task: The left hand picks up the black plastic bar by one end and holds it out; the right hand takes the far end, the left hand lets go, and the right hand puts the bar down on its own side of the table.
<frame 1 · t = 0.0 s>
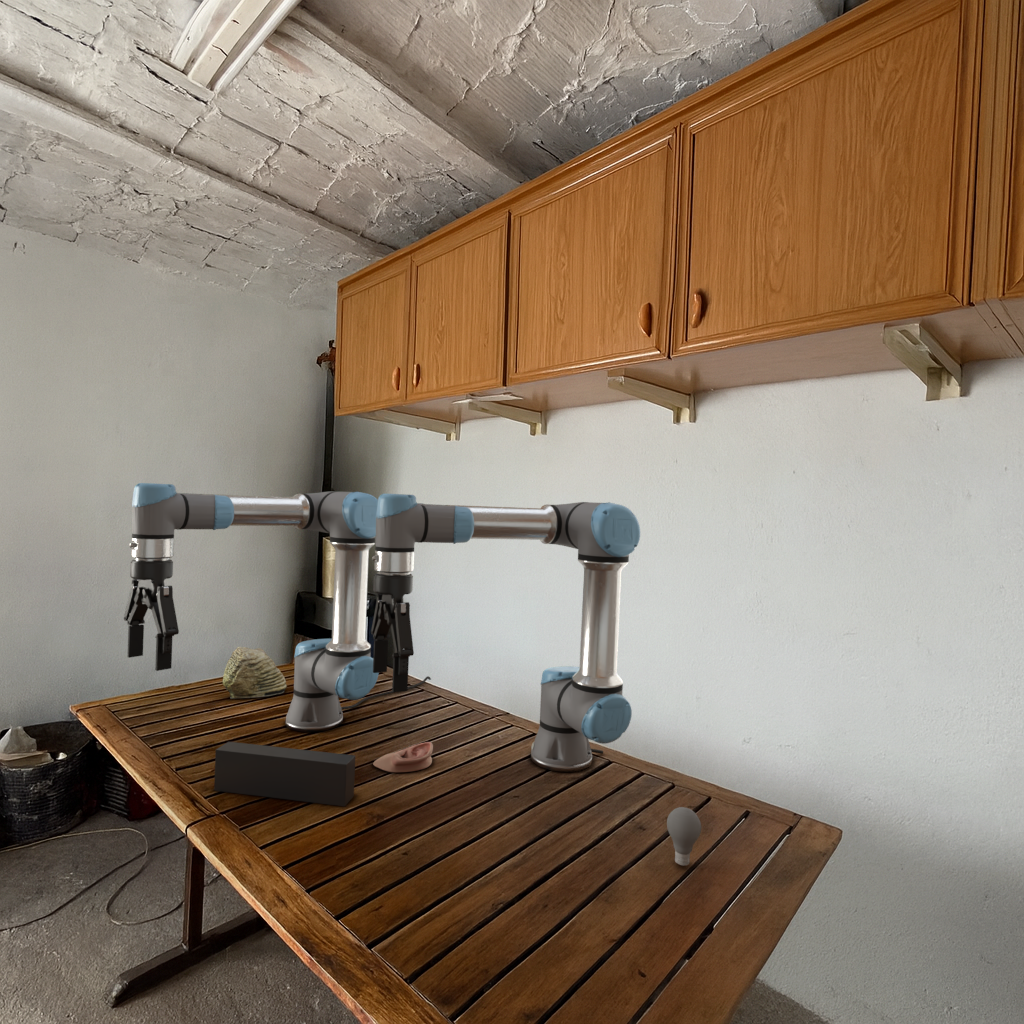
left hand: (148, 662, 129), 28 cm above the table, tool pointing down, fingers open, 13 cm apart
right hand: (389, 681, 124), 28 cm above the table, tool pointing down, fingers open, 13 cm apart
fossil: (254, 694, 198), on the table
bar: (284, 793, 135), on the table
anatomical model: (403, 763, 152), on the table
light bulb: (681, 864, 114), on the table
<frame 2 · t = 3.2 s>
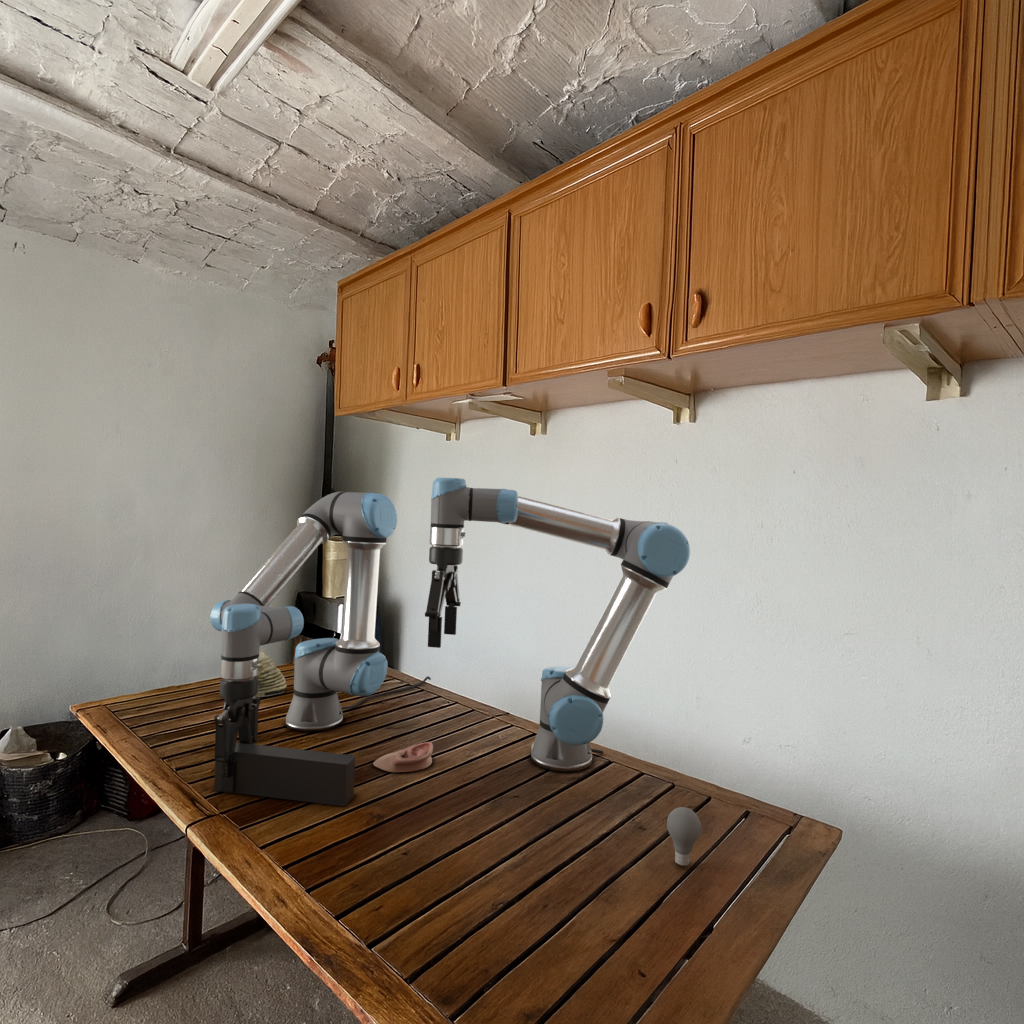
left hand: (235, 784, 136), 1 cm above the table, tool pointing down, fingers closed on bar, 5 cm apart
right hand: (442, 640, 143), 32 cm above the table, tool pointing down, fingers open, 13 cm apart
bar: (284, 793, 135), on the table, touching left hand
everything else where it was.
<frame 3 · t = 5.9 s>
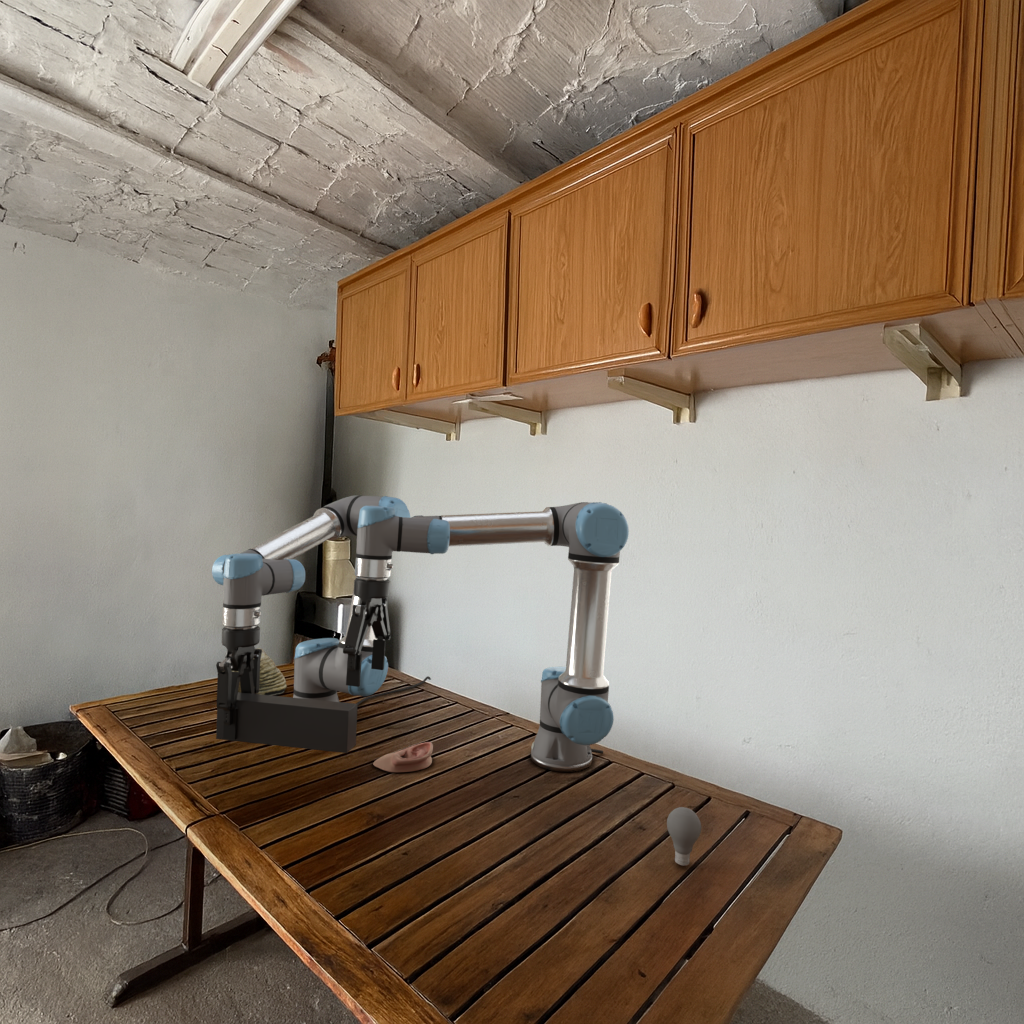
left hand: (237, 733, 136), 12 cm above the table, tool pointing down, fingers closed on bar, 5 cm apart
right hand: (365, 677, 135), 25 cm above the table, tool pointing down, fingers open, 13 cm apart
bar: (286, 741, 134), point 11 cm above the table, touching left hand
everything else where it was.
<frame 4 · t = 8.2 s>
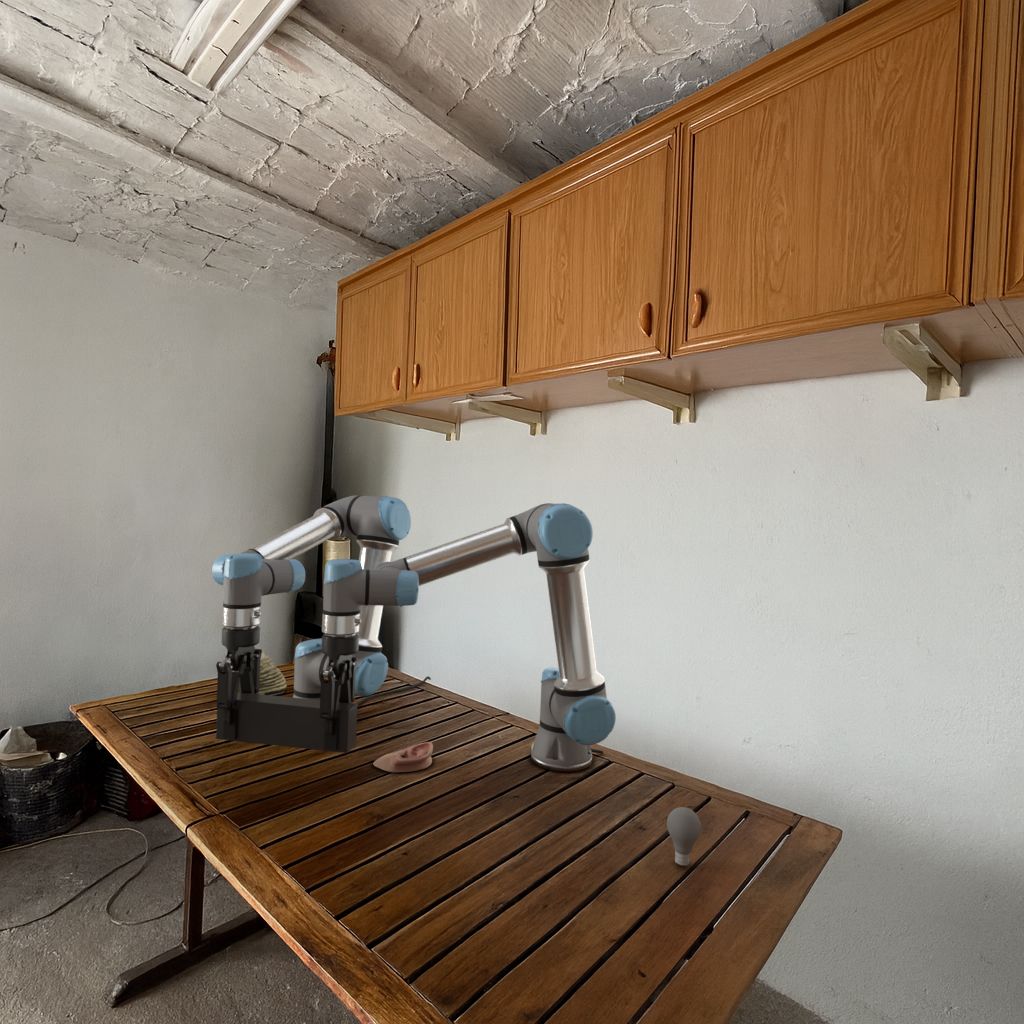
left hand: (237, 733, 136), 12 cm above the table, tool pointing down, fingers closed on bar, 5 cm apart
right hand: (336, 743, 133), 12 cm above the table, tool pointing down, fingers closed on bar, 5 cm apart
bar: (286, 741, 134), point 11 cm above the table, touching left hand, right hand
everything else where it was.
when the left hand's fingers open (12 cm above the table, at t = 8.9 s): bar stays where it is, held by the right hand.
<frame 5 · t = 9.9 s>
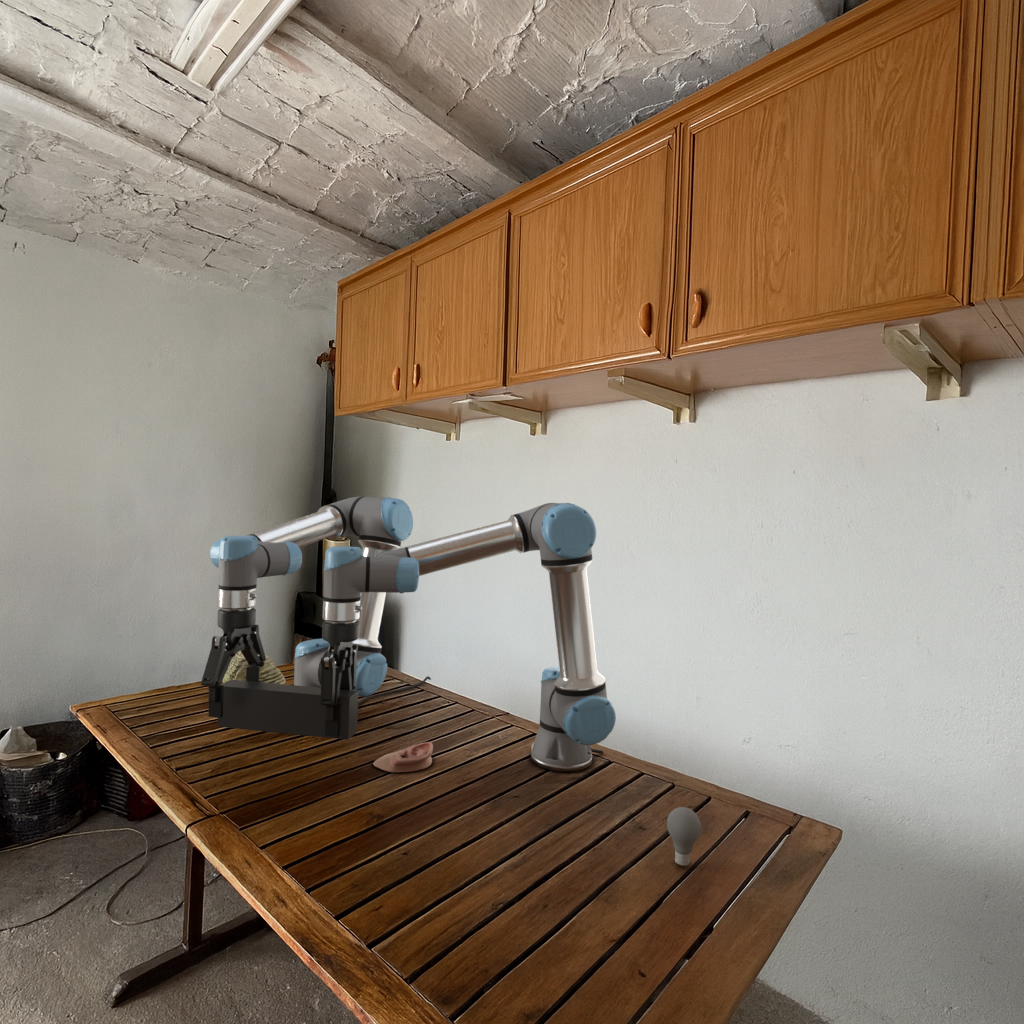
left hand: (234, 706, 136), 17 cm above the table, tool pointing down, fingers open, 13 cm apart
right hand: (337, 730, 133), 14 cm above the table, tool pointing down, fingers closed on bar, 5 cm apart
bar: (287, 729, 134), point 14 cm above the table, touching right hand
everything else where it was.
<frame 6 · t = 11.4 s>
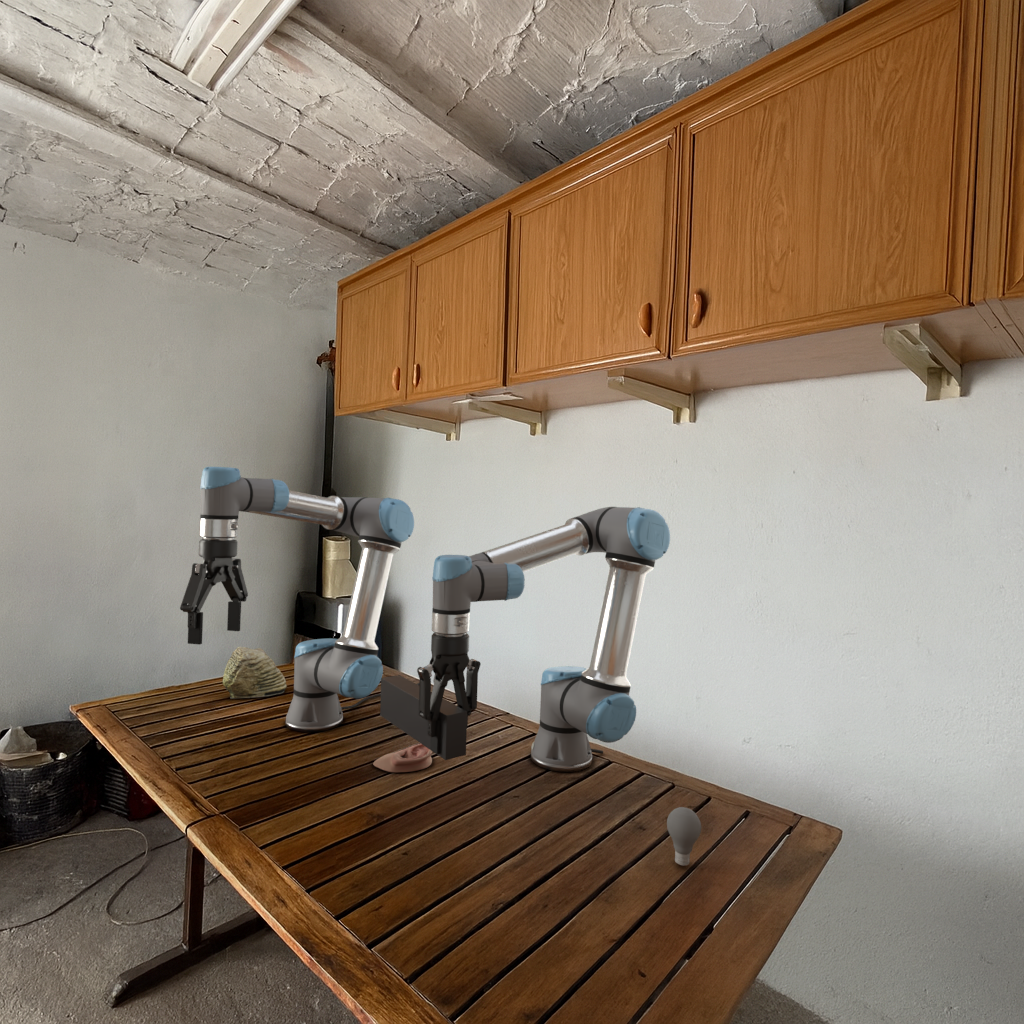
left hand: (215, 637, 137), 32 cm above the table, tool pointing down, fingers open, 13 cm apart
right hand: (447, 748, 127), 14 cm above the table, tool pointing down, fingers closed on bar, 5 cm apart
bar: (419, 733, 136), point 14 cm above the table, touching right hand
everything else where it was.
when the right hand's fingers open (2 cm above the table, at t = 14.4 s): bar drops 2 cm, on the table.
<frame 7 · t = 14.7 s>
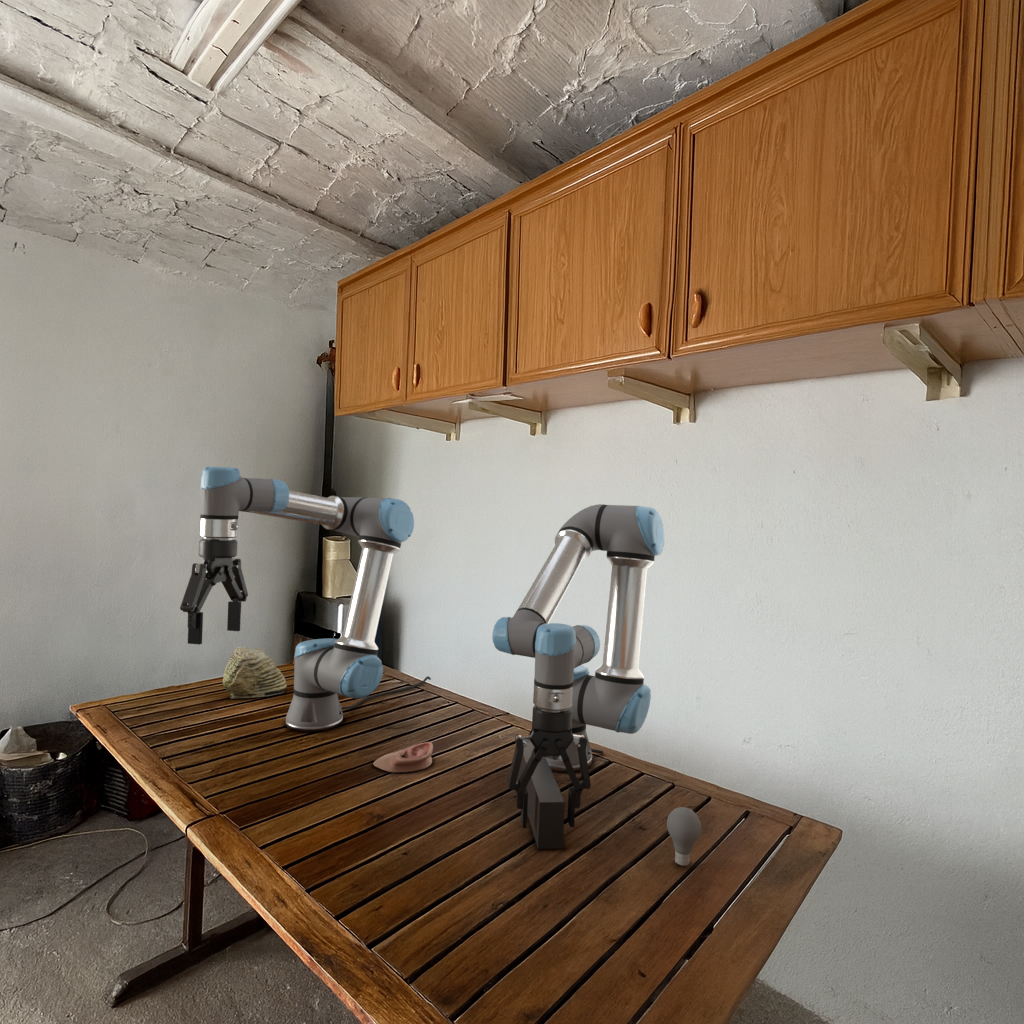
left hand: (215, 637, 137), 32 cm above the table, tool pointing down, fingers open, 13 cm apart
right hand: (547, 824, 121), 3 cm above the table, tool pointing down, fingers open, 8 cm apart
bar: (537, 810, 132), on the table
everything else where it was.
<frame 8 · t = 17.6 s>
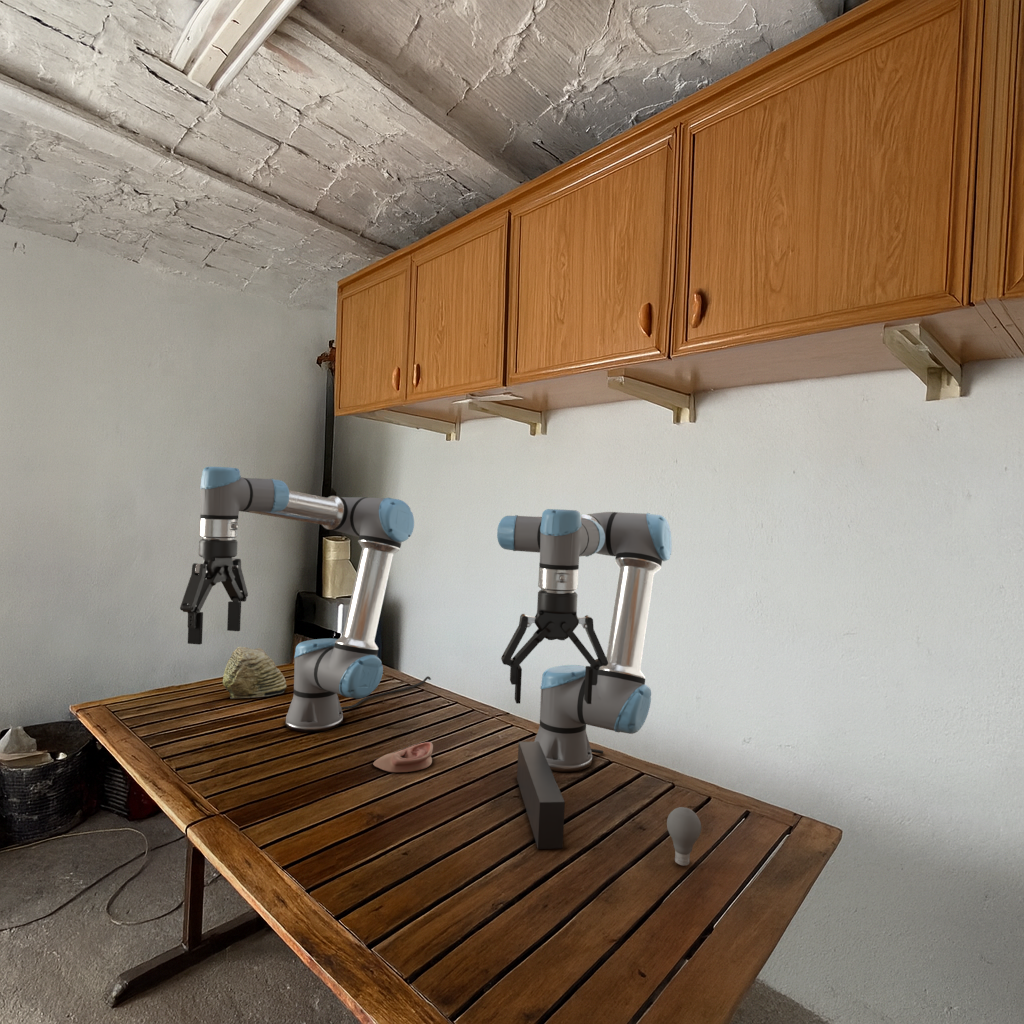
left hand: (215, 637, 137), 32 cm above the table, tool pointing down, fingers open, 13 cm apart
right hand: (552, 701, 121), 26 cm above the table, tool pointing down, fingers open, 13 cm apart
nothing on the table moved.
at the end: bar inside the target area (11.1 cm from its centre), on the table; the left hand is holding nothing; the right hand is holding nothing; bar at rest at the end (0.0 cm/s) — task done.
